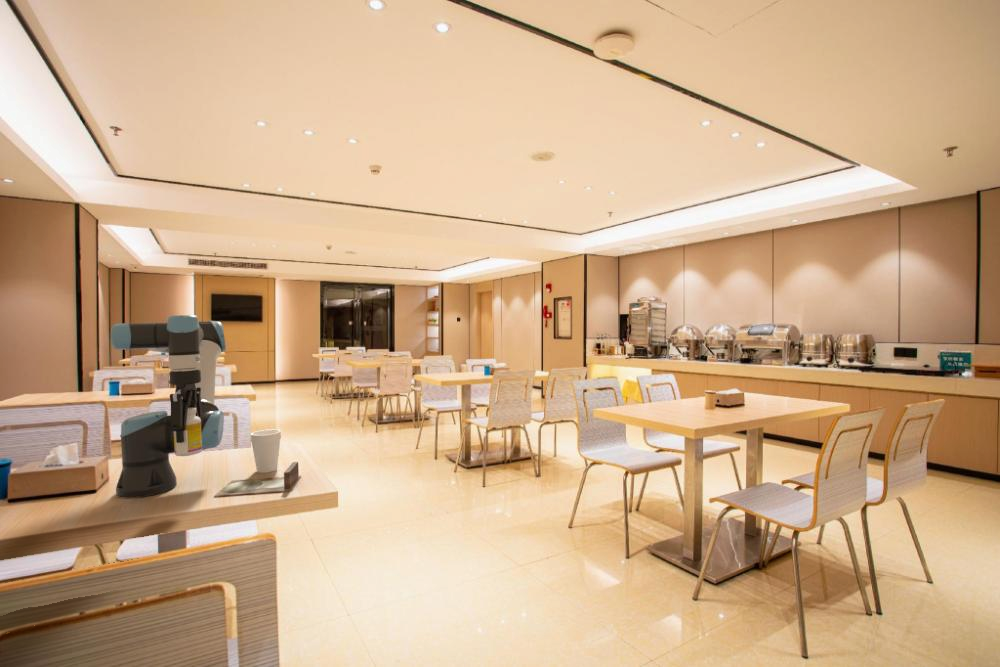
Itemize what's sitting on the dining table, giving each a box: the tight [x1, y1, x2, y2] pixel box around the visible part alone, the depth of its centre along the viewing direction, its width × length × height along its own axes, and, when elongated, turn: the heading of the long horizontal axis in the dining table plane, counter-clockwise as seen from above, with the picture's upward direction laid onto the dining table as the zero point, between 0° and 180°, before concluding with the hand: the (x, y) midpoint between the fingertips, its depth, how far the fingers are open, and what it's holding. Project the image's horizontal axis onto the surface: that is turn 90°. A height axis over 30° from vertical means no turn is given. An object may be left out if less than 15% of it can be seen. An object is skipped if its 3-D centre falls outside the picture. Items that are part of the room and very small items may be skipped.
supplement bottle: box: [174, 408, 203, 457], centre depth 140 cm, size 7×7×13 cm
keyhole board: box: [213, 461, 302, 498], centre depth 152 cm, size 21×14×5 cm, turn 99°
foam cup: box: [250, 428, 282, 474], centre depth 169 cm, size 10×9×13 cm
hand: (188, 450), depth 141 cm, fingers closed on supplement bottle, 7 cm apart
